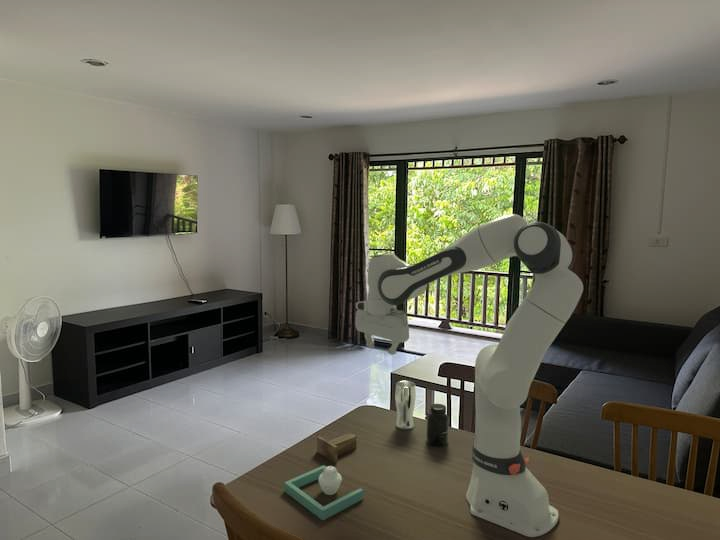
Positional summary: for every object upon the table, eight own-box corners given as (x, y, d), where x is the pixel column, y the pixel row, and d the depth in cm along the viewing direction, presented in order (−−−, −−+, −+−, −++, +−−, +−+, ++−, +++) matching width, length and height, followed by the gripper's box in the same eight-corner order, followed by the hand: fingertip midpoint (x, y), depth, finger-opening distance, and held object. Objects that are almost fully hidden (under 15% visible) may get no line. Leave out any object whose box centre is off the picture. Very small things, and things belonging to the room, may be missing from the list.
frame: (363, 499, 125) (363, 490, 125) (322, 520, 117) (322, 510, 116) (323, 473, 138) (323, 465, 137) (284, 491, 129) (284, 482, 128)
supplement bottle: (447, 448, 153) (448, 411, 151) (425, 445, 154) (426, 409, 153) (448, 438, 159) (449, 403, 158) (427, 436, 161) (428, 401, 159)
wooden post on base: (362, 451, 150) (362, 436, 150) (335, 463, 143) (335, 447, 143) (344, 441, 157) (344, 426, 156) (317, 452, 150) (317, 436, 149)
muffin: (319, 499, 125) (319, 473, 124) (317, 486, 131) (317, 461, 130) (343, 497, 126) (343, 471, 125) (340, 484, 132) (340, 459, 131)
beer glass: (415, 430, 165) (416, 387, 163) (395, 430, 165) (396, 387, 163) (413, 421, 172) (414, 380, 170) (394, 421, 172) (394, 380, 170)
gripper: (414, 310, 142) (413, 356, 144) (366, 300, 157) (366, 342, 159) (399, 313, 138) (398, 360, 140) (352, 302, 153) (351, 345, 155)
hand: (381, 350), depth 150 cm, fingers open, 8 cm apart
